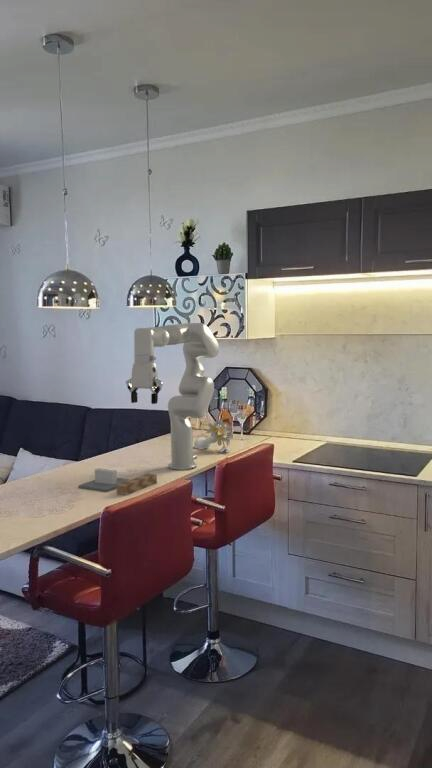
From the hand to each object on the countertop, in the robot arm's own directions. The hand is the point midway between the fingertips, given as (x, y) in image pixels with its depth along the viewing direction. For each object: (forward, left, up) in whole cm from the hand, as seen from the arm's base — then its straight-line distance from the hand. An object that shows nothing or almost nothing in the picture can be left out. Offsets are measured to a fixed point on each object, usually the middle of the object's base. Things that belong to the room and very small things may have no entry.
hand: (144, 403), depth 233 cm
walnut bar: (+10, +3, -32) cm, 34 cm away
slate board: (+11, -12, -32) cm, 35 cm away
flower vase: (-66, -6, -33) cm, 74 cm away
